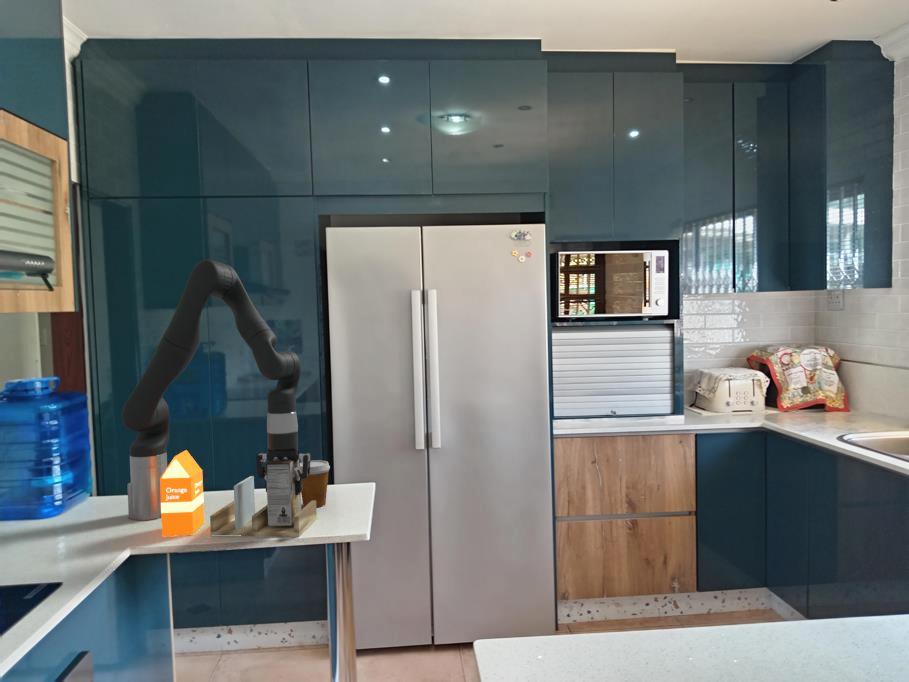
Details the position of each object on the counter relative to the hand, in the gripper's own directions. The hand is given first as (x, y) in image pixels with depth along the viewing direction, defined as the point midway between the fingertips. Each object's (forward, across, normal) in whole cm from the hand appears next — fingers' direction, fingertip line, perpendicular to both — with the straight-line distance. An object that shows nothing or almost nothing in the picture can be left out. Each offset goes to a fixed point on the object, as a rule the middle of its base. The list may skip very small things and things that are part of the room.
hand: (284, 494), depth 165 cm
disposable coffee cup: (+9, +1, +20) cm, 22 cm away
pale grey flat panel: (+9, -11, 0) cm, 14 cm away
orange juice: (+9, -26, -3) cm, 27 cm away
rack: (+9, -5, 0) cm, 10 cm away
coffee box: (+7, 0, 0) cm, 7 cm away
